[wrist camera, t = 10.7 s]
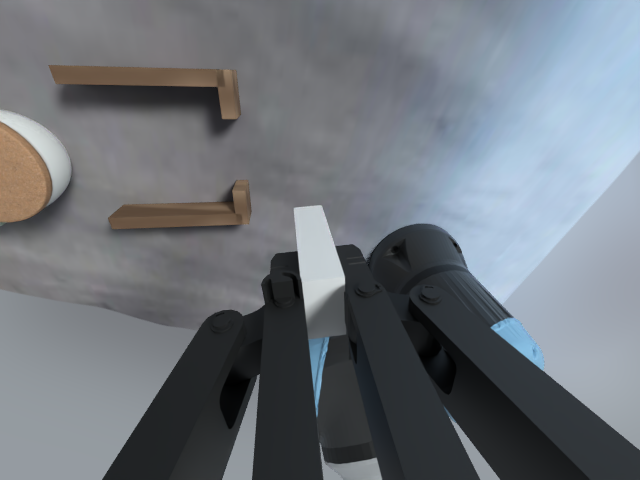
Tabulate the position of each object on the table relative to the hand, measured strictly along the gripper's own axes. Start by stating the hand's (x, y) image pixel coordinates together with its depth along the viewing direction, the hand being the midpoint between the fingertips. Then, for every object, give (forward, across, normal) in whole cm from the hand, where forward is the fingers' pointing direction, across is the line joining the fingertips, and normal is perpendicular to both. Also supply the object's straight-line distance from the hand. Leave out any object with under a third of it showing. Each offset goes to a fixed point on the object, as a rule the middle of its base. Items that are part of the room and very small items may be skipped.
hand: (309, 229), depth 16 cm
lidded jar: (+24, +30, -2) cm, 38 cm away
